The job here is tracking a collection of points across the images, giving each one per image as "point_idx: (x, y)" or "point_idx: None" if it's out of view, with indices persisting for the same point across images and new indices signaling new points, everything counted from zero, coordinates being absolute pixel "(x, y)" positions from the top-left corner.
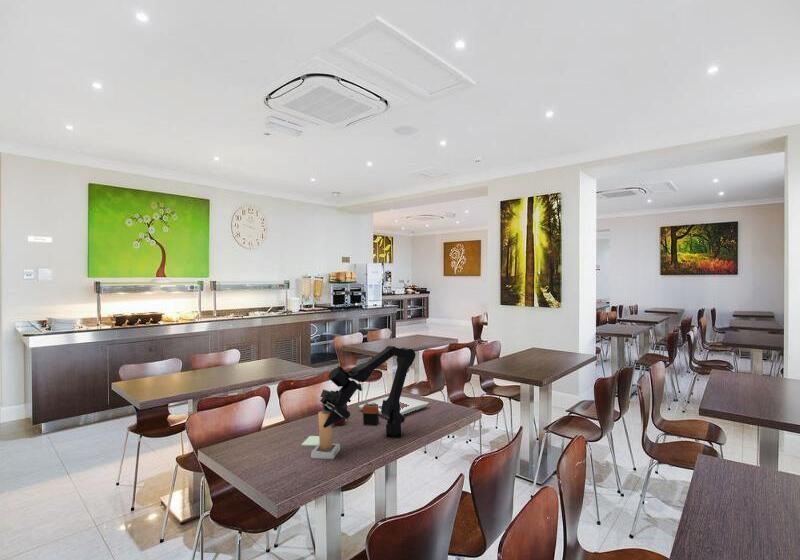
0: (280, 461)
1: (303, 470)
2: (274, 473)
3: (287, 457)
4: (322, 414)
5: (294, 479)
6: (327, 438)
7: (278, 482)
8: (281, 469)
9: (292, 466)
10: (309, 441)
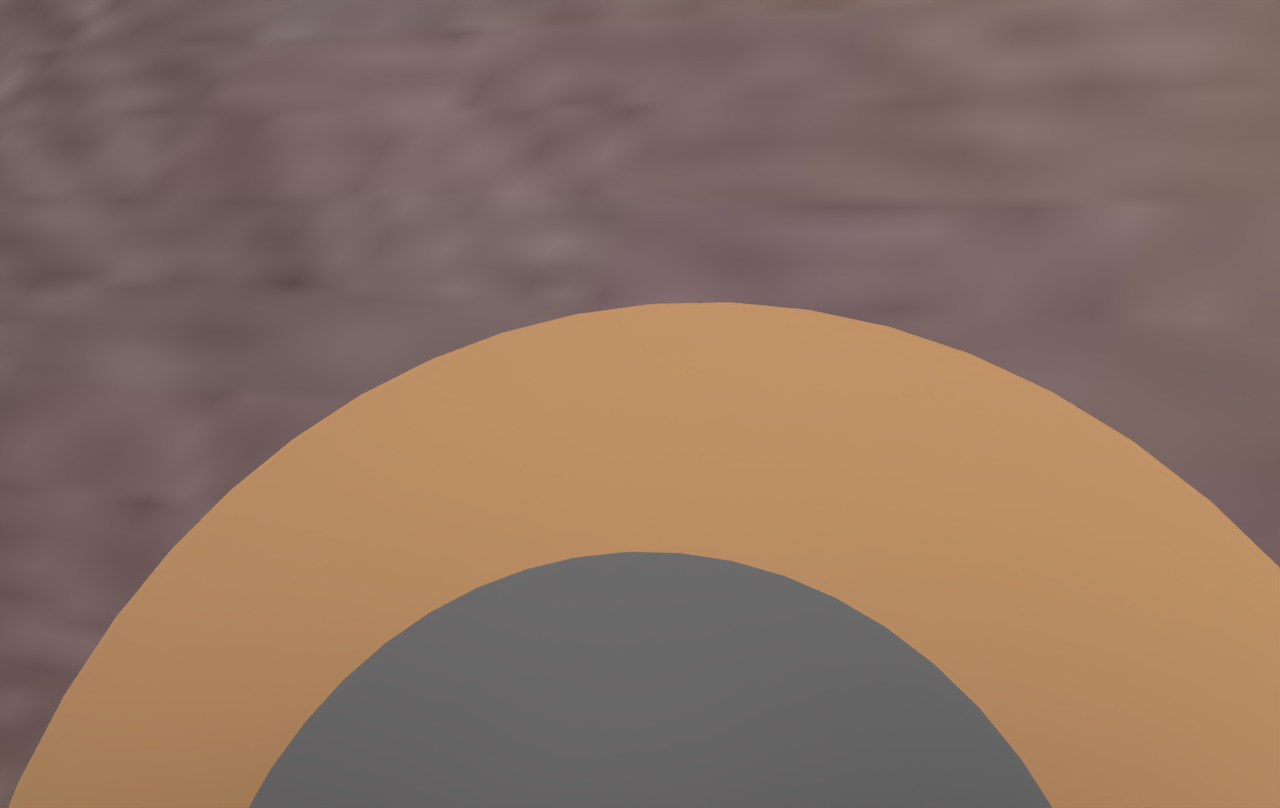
0: (768, 105)
1: (279, 386)
2: (407, 54)
3: (889, 192)
4: (117, 625)
5: (92, 263)
6: None
7: (140, 102)
8: (480, 123)
9: (502, 251)
10: None
